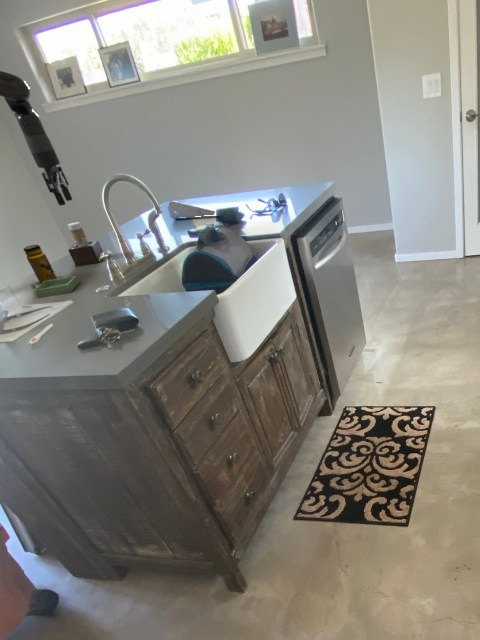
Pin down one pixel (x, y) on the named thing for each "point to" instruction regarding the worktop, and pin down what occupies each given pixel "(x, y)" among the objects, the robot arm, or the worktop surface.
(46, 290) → the tray
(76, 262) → the brown wooden box
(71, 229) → the sprinkles bottle
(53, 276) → the condiment
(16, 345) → the worktop surface
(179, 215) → the grey tapered wedge
